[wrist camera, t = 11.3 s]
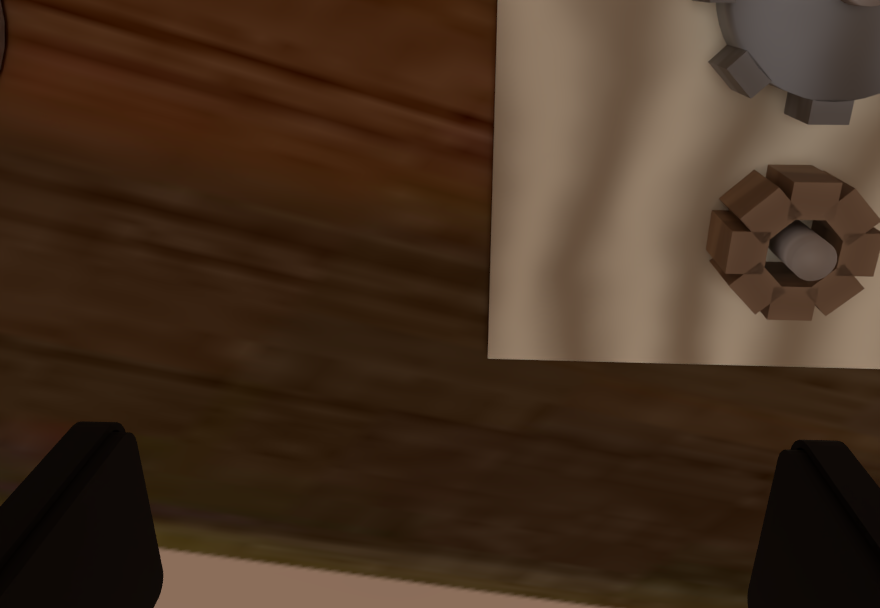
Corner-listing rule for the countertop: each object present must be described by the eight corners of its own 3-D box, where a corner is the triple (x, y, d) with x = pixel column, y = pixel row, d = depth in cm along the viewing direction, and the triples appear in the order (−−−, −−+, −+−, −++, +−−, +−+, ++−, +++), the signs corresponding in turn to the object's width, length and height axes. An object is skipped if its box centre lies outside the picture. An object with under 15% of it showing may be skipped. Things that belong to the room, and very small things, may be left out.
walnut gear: (719, 163, 37) (740, 181, 34) (861, 165, 37) (897, 183, 33) (699, 291, 40) (717, 318, 37) (831, 294, 40) (861, 321, 36)
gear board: (487, 350, 43) (487, 399, 38) (505, -279, 31) (508, -328, 26) (908, 361, 42) (965, 413, 37) (1098, -291, 30) (1222, -346, 25)
